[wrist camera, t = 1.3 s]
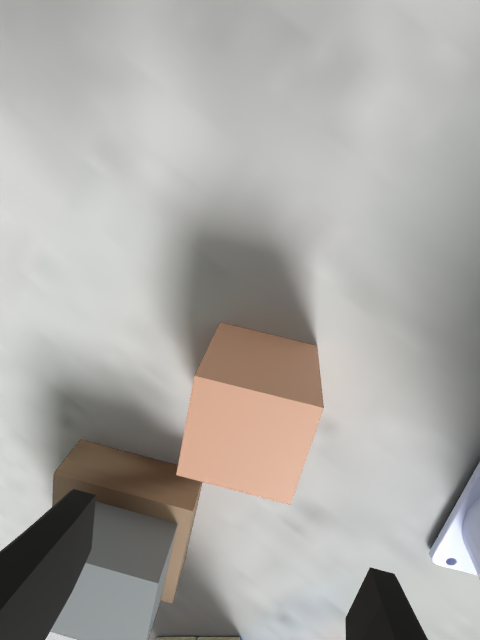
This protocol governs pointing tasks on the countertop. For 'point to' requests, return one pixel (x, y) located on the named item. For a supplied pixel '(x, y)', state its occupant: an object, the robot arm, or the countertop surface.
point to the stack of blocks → (199, 639)
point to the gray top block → (119, 578)
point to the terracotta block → (252, 413)
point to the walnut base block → (134, 492)
